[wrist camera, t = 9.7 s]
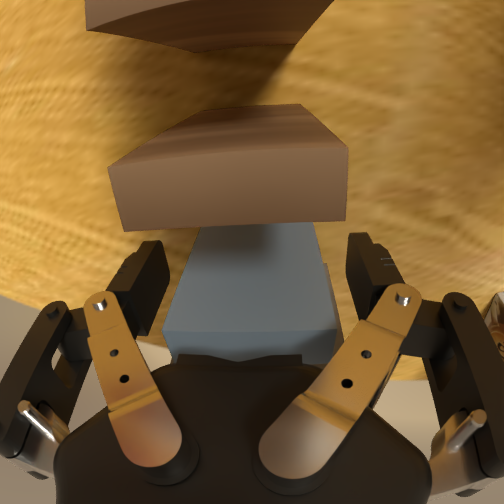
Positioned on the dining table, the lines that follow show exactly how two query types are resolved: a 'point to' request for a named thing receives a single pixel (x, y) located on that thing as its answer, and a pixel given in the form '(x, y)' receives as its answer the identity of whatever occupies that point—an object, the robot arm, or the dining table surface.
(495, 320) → the coffee box
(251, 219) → the walnut domino
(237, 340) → the slate domino
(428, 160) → the dining table surface
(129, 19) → the walnut domino
